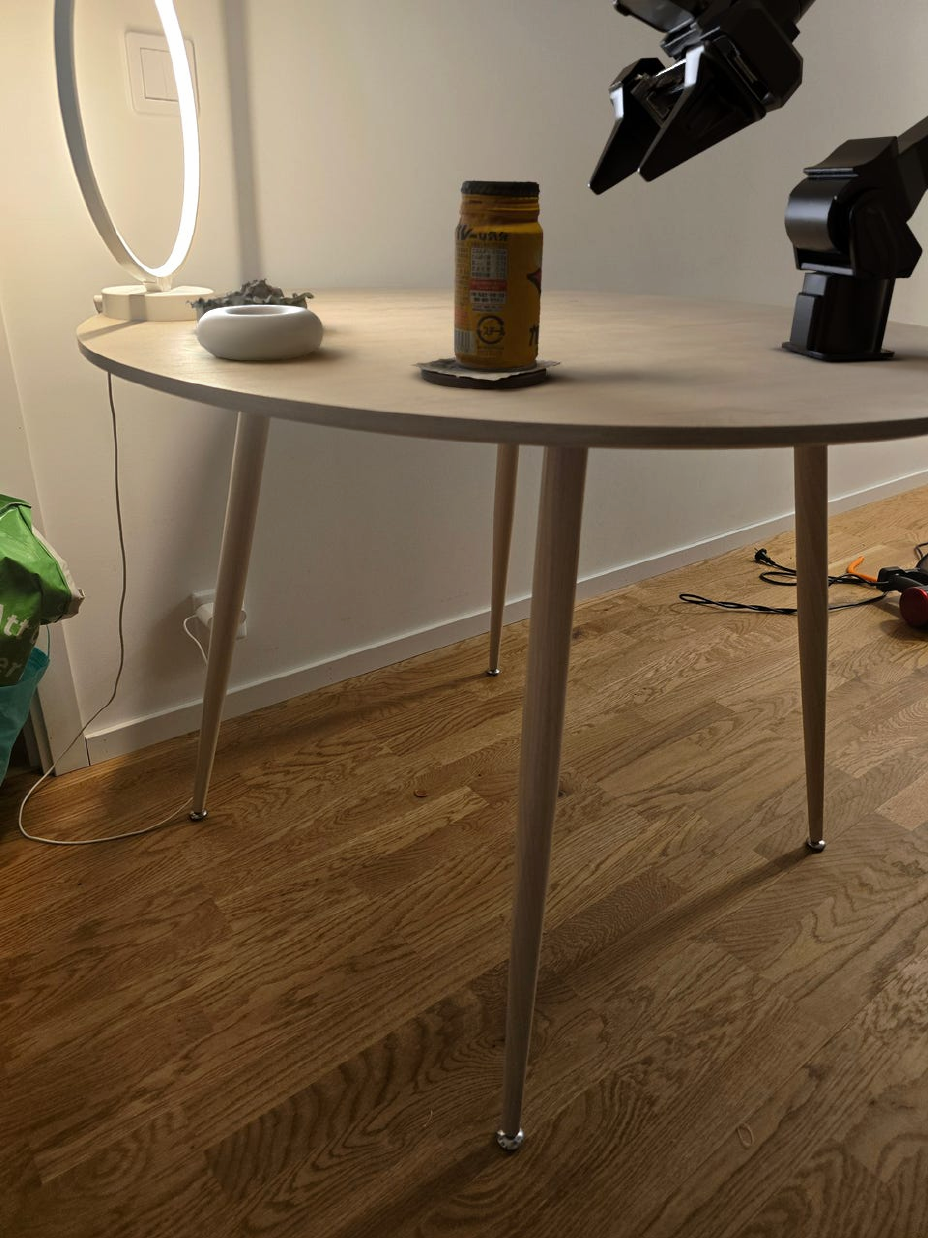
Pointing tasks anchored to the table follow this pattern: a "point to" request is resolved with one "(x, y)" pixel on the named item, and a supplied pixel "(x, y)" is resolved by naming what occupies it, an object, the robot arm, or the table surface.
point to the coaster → (470, 382)
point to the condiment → (496, 282)
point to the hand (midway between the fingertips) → (615, 184)
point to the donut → (259, 332)
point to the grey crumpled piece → (251, 298)
